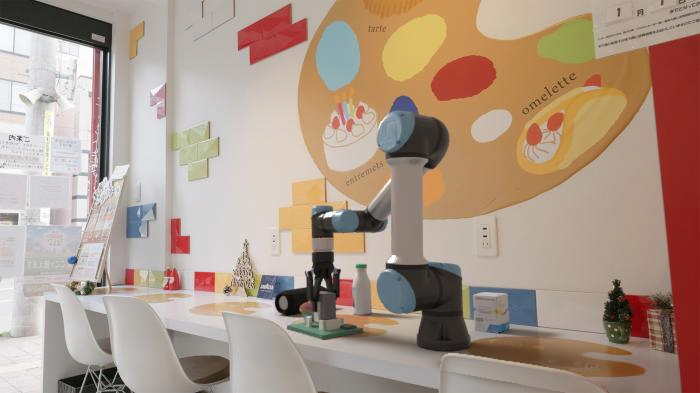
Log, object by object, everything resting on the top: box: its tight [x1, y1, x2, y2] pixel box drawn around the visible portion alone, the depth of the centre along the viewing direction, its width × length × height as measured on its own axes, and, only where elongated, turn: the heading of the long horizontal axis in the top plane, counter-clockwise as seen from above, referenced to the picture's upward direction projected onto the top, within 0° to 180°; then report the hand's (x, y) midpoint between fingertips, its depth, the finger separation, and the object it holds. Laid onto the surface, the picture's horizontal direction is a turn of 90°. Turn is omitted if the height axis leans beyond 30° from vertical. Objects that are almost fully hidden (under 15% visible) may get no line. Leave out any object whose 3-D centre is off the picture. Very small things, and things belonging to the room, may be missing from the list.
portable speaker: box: [274, 285, 327, 316], centre depth 192 cm, size 26×10×10 cm, turn 141°
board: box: [286, 316, 364, 340], centre depth 151 cm, size 22×16×4 cm
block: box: [312, 291, 337, 324], centre depth 152 cm, size 9×4×10 cm, turn 37°
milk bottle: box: [351, 263, 373, 316], centre depth 184 cm, size 8×8×20 cm
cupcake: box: [300, 301, 312, 321], centre depth 170 cm, size 9×8×12 cm
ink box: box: [472, 291, 511, 334], centre depth 147 cm, size 9×8×12 cm
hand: (323, 320), depth 151 cm, fingers closed on block, 4 cm apart
